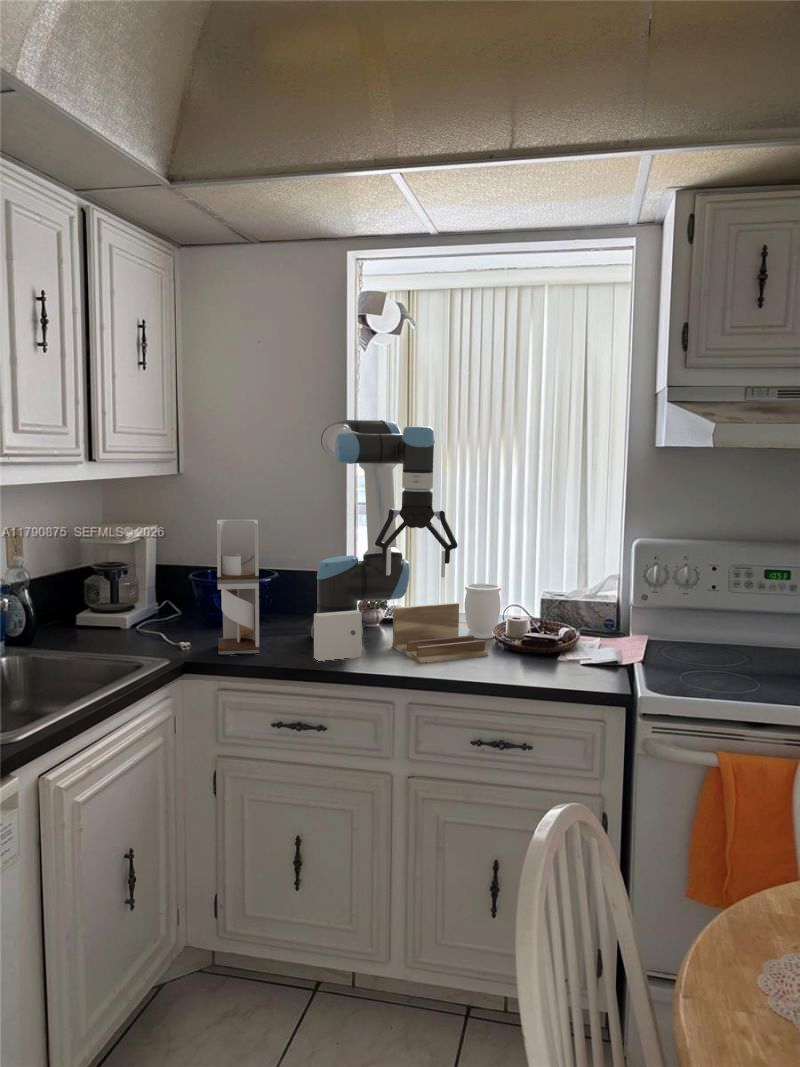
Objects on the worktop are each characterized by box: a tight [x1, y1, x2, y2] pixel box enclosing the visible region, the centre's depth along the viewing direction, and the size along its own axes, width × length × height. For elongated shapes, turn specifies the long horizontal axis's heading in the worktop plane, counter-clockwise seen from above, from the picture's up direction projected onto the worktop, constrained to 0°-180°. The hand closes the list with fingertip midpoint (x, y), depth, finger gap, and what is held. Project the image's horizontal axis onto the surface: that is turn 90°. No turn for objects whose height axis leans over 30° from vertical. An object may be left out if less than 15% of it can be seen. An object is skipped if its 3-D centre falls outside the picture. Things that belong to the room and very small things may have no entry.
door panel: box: [313, 609, 363, 662], centre depth 209 cm, size 4×12×12 cm, turn 115°
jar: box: [464, 583, 502, 640], centre depth 235 cm, size 11×10×15 cm
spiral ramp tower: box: [216, 519, 260, 654], centre depth 215 cm, size 11×11×35 cm
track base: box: [391, 602, 489, 664], centre depth 217 cm, size 18×20×11 cm
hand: (415, 575), depth 198 cm, fingers open, 13 cm apart
